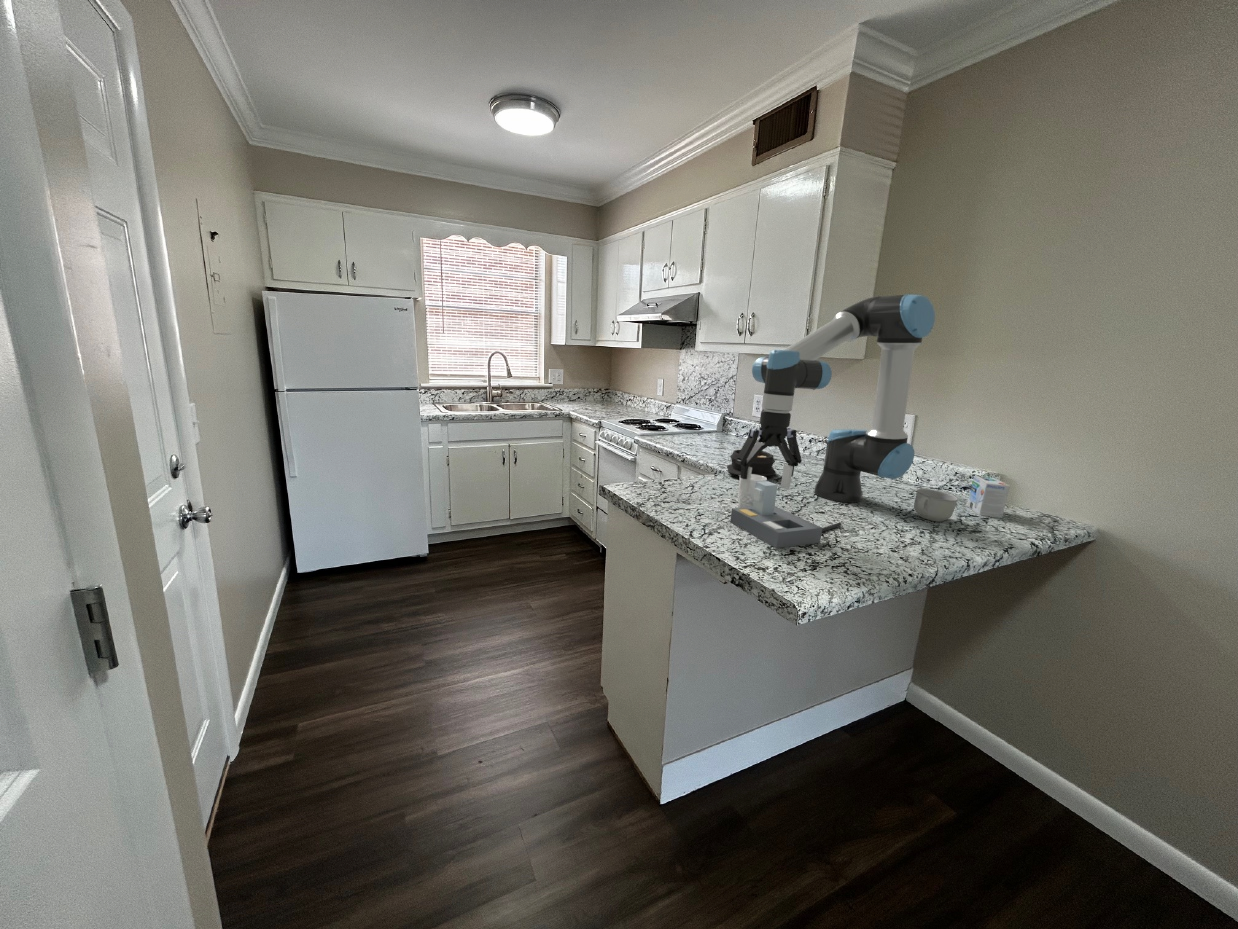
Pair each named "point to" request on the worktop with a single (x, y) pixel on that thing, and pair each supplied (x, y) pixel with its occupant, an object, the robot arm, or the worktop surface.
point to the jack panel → (777, 527)
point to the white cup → (747, 497)
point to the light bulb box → (988, 496)
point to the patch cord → (831, 527)
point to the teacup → (934, 504)
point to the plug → (764, 498)
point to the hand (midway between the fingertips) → (765, 489)
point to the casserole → (754, 464)
